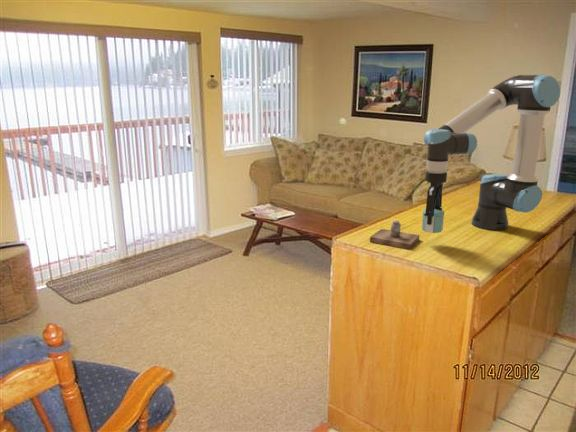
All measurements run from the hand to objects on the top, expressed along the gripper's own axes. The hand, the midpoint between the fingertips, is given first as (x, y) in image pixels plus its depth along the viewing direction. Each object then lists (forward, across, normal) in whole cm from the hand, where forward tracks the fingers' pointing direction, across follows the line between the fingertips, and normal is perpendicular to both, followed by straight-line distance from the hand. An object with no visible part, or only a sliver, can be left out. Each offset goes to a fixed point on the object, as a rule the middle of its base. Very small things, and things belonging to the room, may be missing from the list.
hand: (432, 229), depth 188 cm
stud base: (+6, +4, -14) cm, 15 cm away
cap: (0, 0, 0) cm, 0 cm away
